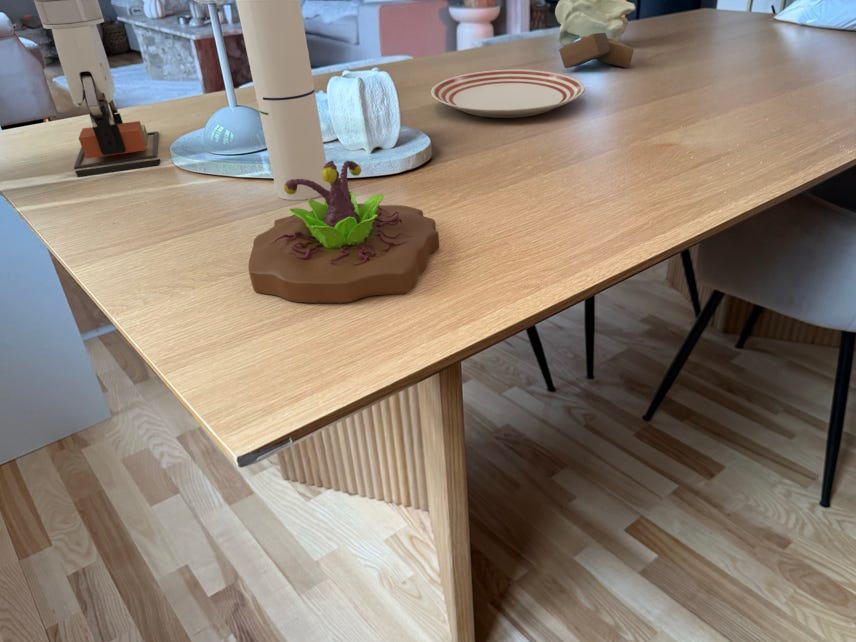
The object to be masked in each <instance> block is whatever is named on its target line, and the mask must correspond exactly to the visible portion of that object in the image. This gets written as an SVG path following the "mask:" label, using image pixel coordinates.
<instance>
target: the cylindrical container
mask: <svg viewBox="0 0 856 642" xmlns="http://www.w3.org/2000/svg"><path fill="white" fill-rule="evenodd" d="M235 2H236V8H237V13H238V16H239V21H240V26H241V31H242V37H243V40H244V46H245V50H246V55H247V59H248V65H249V69H250V73H251V78H252V84H253V89H254V93H255V98H256V103H257V107H258V110H259V111H258V113H259V117H260V122H261V126H262V131H263V136H264V141H265V145H266V151H267V155H268V160H269V164H270V169H271V174H272V178H273V183H274V188H275V193H276V196H277V197H278V198H280V199H282V200H287V201H304V200H312V199H315V198H319V197H322V195H321V194H319V193H318V192H317V191H315V190H313V189H312V188H311V187H308V186H306V185H300V184H299V185H297V191H296V193H295V194H287V192H286V191H285V190H284V185H285V183H286V182H287V181H289V180H291V179H294V180H295V179H305V180H310V181H314V182H315V183H317V184H318V185H321V187H323V188H324V189H326V190H328V191H331V189H332V185H331V183H328V182H326V181H324V179H323V177H322V171H323V168H324V166H325V164H326V163H328V161H327V158H326V151H325V145H324V139H323V132H322V127H321V119H320V114H319V109H318V103H317V95H316V90H315V84H314V83H315V82H314V77H313V72H312V66H311V59H310V53H309V48H308V43H307V41H308V40H307V36H306V29H305V24H304V17H303V11H302V10H303V9H302V4H301V0H235Z"/></svg>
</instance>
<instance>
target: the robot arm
mask: <svg viewBox="0 0 856 642" xmlns="http://www.w3.org/2000/svg"><path fill="white" fill-rule="evenodd" d="M33 2H34V4H35V8H36V11H37V13H38V17H39V19H40V22H41V25H42V27H43V29H46V30H51V33H52V37H53V41H54V45H55V48H56V52H57V55H58V58H59V62H60V66H61V69H62V71H63V75H64V77H65V81H66V84H67V87H68V90H69V95H70V96H71V101H72V104H73V105H75V106H76V107H79V108H80V107H81V106H82V105H83V103H84V101H85V105H86V108H87V111H88V114H89V118H90V122H91V125H92V127H93V130H94V133H95V136H96V139H97V141H98V144H99V147H100V150H101V153H102V154H103V155H109V156H111V155H110V154H116V155H118V154H117V153H123V154H125V153H124V152H125V150H126V149H125V146H124V143H123V140H122V137H121V134H120V130H119V127H118V124H121V123H124V122H123V119H122V116H121V113H119V110H118V107H117V104H116V101H115V99H114V96H115V93H116V86H115V81H114V78H113V74H112V70H111V67H110V63H109V60H108V56H107V54H106V50H105V47H104V45H103V41H102V38H101V34H100V32H99V29H98V26H97V25H99V24H102V23H105V19H104V16H103V13H102V10H101V7H100V3H99V0H33Z"/></svg>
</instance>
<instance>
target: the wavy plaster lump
mask: <svg viewBox="0 0 856 642" xmlns="http://www.w3.org/2000/svg"><path fill="white" fill-rule="evenodd" d="M634 11H636V5H635V2H630V1H626V0H558V2H557V4H556V6H555V11H554V15H555V18H556V21H557V23H558V24H559V25H560V26H559V33H558V36H557V39H558V42H559V43H560V45H561V46H562V47H565V46H567V45H569V44H571V43H573V42H576V41H578V40H580V39H582V37H584V36H589V35H591V34H596V33H606V35H607V38H609V39H613V40H616V41H618V42H620V39H621V37H622V36H623V35H624V33H625V31H626V30H627V29H626V28H627V27H628V24H629V21H628V18H627V17H624V16H626V15H629V14H631V13H632V12H634Z"/></svg>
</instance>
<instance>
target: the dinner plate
mask: <svg viewBox="0 0 856 642" xmlns="http://www.w3.org/2000/svg"><path fill="white" fill-rule="evenodd" d="M585 89H586V88H585V84H584V83H583V82H582V81H580V80H578V79H577V78H575V77H573V76H570V75H565V74H562V73H558V72H557V73H556V72H552V71H544V70H536V69H535V70H534V69H515V68H514V69H494V70H485V71H476V72H471V73H465V74H461V75H456V76H452V77H450V78H445V79H444V80H442V81H439V82H437V83H436V84H435V85H434V86H433V87H432V88H431V90H430V94H431V96H432V98H434V99H435V100H436V101H438V102H439V103H441V104H443V105H445V106H447V107H449V108H452V109H453V110H457V111H460V112H463V113H466V114H468V115H472V116H477V117H481V118H493V119H494V118H495V119H512V118H515V119H516V118H525V117H532V116H536V115H540V114H544V113H547V112H549V111H552V110H554V109H557V108H559V107H562V106H564V105H566V104H569V103H571V102H573V101H575V100H577V99H578V98H580V97H581V96H582V95H583V94H584V92H585Z"/></svg>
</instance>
